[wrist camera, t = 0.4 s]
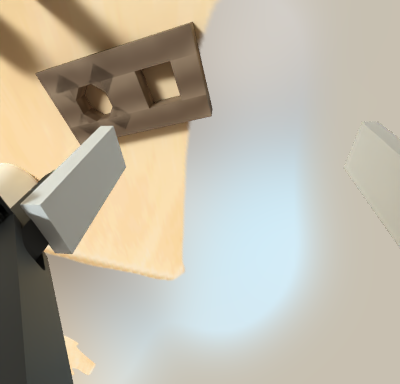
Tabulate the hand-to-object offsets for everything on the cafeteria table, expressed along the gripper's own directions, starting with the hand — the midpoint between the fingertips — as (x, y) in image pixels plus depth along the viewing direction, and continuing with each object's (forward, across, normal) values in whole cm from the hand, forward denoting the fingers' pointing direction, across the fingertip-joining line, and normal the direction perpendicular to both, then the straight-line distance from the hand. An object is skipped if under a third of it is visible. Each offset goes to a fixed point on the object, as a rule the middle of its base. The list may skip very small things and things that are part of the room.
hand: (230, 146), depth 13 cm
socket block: (+26, -15, -4) cm, 31 cm away
